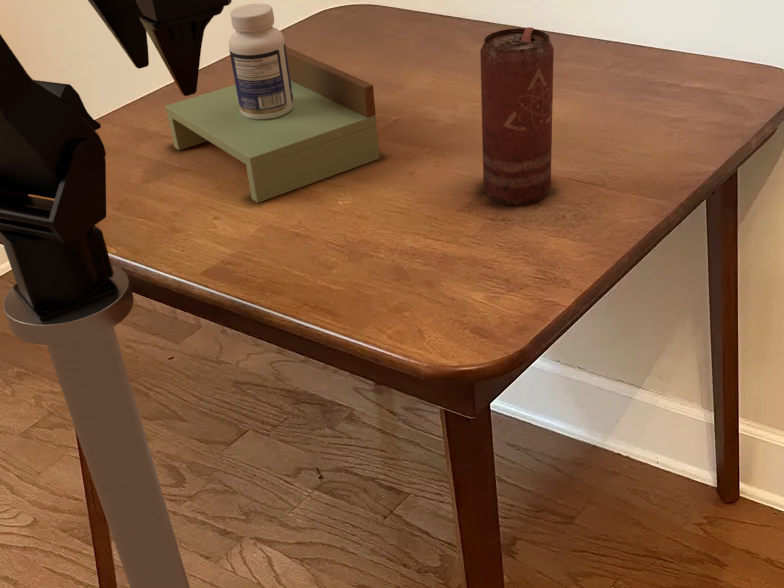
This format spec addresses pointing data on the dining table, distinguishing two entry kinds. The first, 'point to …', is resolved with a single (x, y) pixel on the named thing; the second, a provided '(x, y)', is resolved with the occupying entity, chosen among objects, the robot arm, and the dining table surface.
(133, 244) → the dining table surface
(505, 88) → the can
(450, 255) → the dining table surface
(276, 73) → the pill bottle
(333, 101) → the shelf
